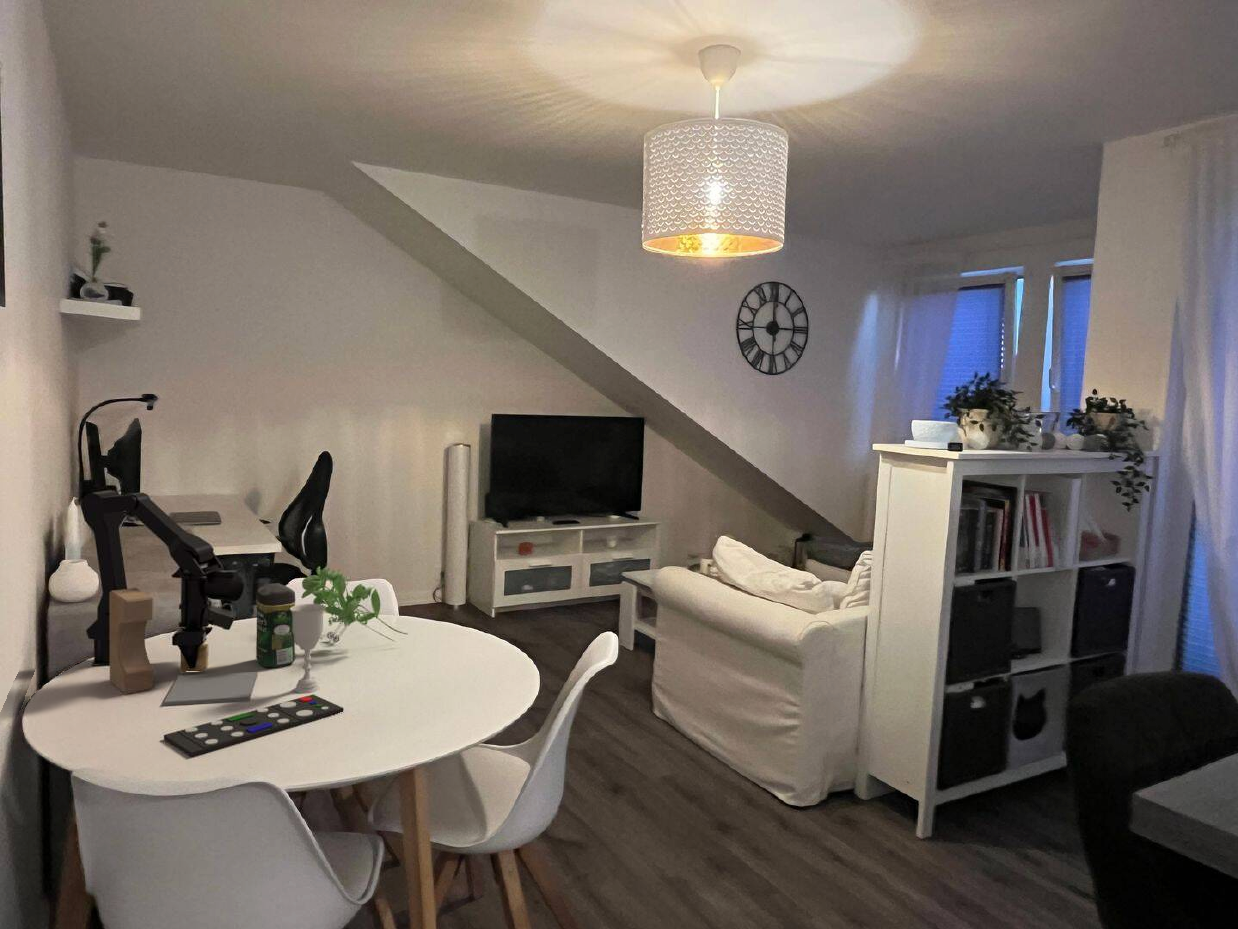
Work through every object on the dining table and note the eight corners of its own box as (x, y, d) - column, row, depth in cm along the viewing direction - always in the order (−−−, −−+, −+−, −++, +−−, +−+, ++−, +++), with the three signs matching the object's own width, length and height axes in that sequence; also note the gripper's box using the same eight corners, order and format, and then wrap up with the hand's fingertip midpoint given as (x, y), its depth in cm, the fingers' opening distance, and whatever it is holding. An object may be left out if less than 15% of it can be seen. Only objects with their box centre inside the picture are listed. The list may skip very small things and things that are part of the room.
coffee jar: (251, 659, 203) (252, 583, 201) (285, 654, 207) (286, 579, 206) (263, 670, 195) (264, 591, 193) (298, 665, 200) (299, 587, 198)
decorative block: (154, 689, 180) (154, 597, 179) (124, 695, 176) (123, 601, 175) (138, 676, 188) (138, 587, 186) (109, 681, 184) (108, 590, 182)
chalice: (290, 696, 180) (292, 613, 178) (287, 686, 186) (288, 605, 184) (326, 692, 183) (328, 610, 182) (322, 682, 189) (323, 603, 188)
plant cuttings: (338, 646, 238) (274, 607, 225) (374, 594, 243) (313, 553, 231) (393, 682, 211) (323, 640, 198) (432, 623, 216) (366, 578, 204)
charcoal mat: (163, 705, 172) (163, 702, 172) (179, 679, 187) (179, 676, 187) (249, 700, 177) (249, 696, 177) (257, 675, 192) (257, 671, 192)
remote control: (343, 715, 173) (343, 705, 172) (191, 760, 149) (192, 749, 149) (313, 701, 180) (313, 692, 179) (163, 742, 156) (163, 732, 156)
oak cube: (180, 673, 191) (180, 651, 191) (184, 666, 196) (184, 644, 195) (204, 671, 193) (205, 650, 192) (208, 665, 197) (208, 643, 197)
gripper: (227, 606, 186) (227, 675, 188) (238, 587, 204) (238, 650, 205) (171, 608, 183) (171, 678, 184) (187, 588, 201) (187, 652, 202)
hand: (194, 664), depth 194 cm, fingers closed on oak cube, 5 cm apart
